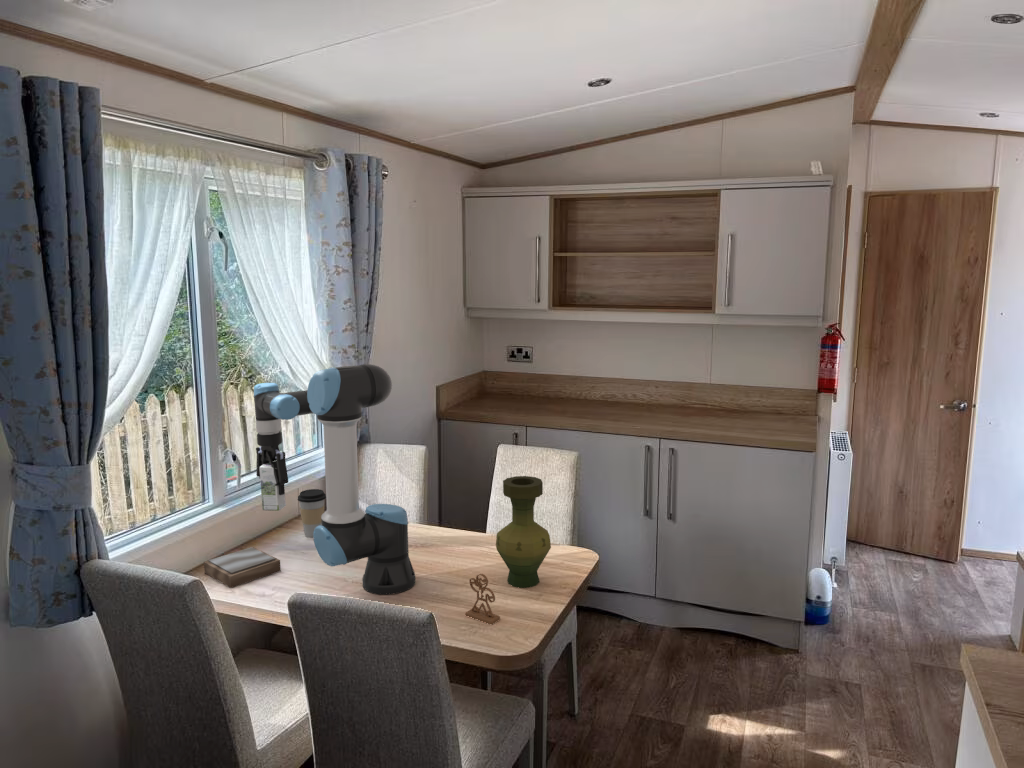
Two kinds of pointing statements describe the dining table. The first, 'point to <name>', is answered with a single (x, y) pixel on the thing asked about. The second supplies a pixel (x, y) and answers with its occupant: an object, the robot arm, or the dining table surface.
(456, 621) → the dining table surface
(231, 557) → the stand
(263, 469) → the syrup box
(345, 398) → the robot arm
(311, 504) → the coffee cup
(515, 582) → the vase
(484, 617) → the gingerbread man figurine
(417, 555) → the dining table surface
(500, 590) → the dining table surface
